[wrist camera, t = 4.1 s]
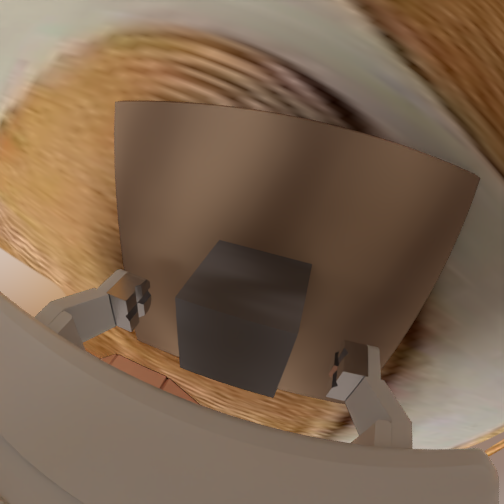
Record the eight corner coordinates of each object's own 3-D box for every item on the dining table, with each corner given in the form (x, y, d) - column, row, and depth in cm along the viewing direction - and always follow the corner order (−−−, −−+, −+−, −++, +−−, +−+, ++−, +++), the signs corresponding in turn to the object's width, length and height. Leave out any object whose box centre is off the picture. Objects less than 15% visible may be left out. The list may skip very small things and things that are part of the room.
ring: (209, 393, 20) (179, 457, 15) (206, 440, 27) (187, 484, 22) (86, 337, 22) (48, 383, 17) (113, 399, 29) (90, 435, 24)
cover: (468, 169, 9) (536, 222, 5) (353, 390, 17) (347, 459, 13) (131, 99, 11) (43, 116, 7) (145, 328, 19) (107, 381, 15)
